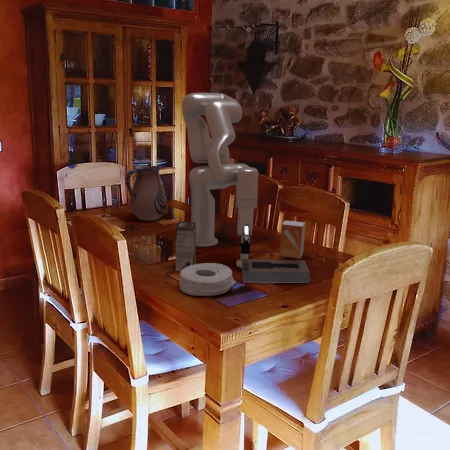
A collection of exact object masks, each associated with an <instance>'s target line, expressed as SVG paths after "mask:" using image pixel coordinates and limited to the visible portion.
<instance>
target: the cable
mask: <svg viewBox="0 0 450 450" xmlns="http://www.w3.org/2000/svg"><path fill="white" fill-rule="evenodd" d="M179 274H180V275H179V289H180V290H181V291H182V292H183V293H185V294H187V295H190V296H198V297H199V296H200V297H211V296H213V297H214V296H218V295H223V294H226V293H228V291H230V289H231V288H232V287H234V286H235V285H236V283H237V280H235V279H234V277H233V271H232V269H231V268H230V267H229V266H227V265H225V264H221V263H216V262H215V263H213V262H212V263H210V262H209V263H208V262H207V263H206V262H205V263H195V265H192V266H189V267H186V268H184V269H183V270H182V271H181V272H179Z"/></svg>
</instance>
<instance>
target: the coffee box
mask: <svg viewBox="0 0 450 450" xmlns="http://www.w3.org/2000/svg"><path fill="white" fill-rule="evenodd" d="M195 231H196V222H191V221H187V220H185V221H184V220H183V221H181V220H180V221H178V222H177V224H176V227H175V272H176V271H180V272H179V273H181V271H182V270H183V269H184V268H186V267H189V266H192V265H196V246H195V233H196V232H195Z"/></svg>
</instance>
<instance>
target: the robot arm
mask: <svg viewBox="0 0 450 450" xmlns="http://www.w3.org/2000/svg"><path fill="white" fill-rule="evenodd" d="M181 113H182V114H181V115H182V118H183V121H184V123H185V126H186V130H187V140H188V148H189V155H190V159H191V160H192V162H194V163H197V164H203V163H204V164H206V163H208V165H203V166H196V167H194V168H193V169H191V170H190V172H189V175H188V180H189V181H188V183H189V187H190V201H191V203H190V204H191V205H190V207H191V209H190V210H191V211H190V212H191V213H190V220H191V221H190V222H196V231H195V232H196V233H195V247H198V248H199V247H200V248H205V247H212V246H216V245H217V244H218V242H219V239H218V238H216V237H215V214H216V213H215V212H216V203H215V202H216V200H215V198H214V196H213V194H212V193H211V190H220V189H227V188H228V187H229V186H235V208H238V210H237V228H236V229H237V236H239V246H240V255H241V254H248V255H250V254H251V236H252V235H253V227H254V226H253V225H254V209H257V208H258V190H259V187H258V186H259V171H258V169H257V168H255V167H250V166H249V165H247V164H245V163H231V158H230V150H229V147H228V146H229V145H231V144H232V143H234V141H235V139H236V137H237V136H236V132H235V129H234V127H233V124H234V123H235V124H236V123H239V122H240V121H241V120H242V117H243V109H242V106H241V105H240V103H239V102H238V101H237V100H236V99H234V98H232V97H231V96H229V95H227V94H225V93H220V92H192V93H188V94H187V95H185V96H184V97H183V99H182V102H181ZM202 116H204V117H205V119H206V121H205V119H204V118H203V117H202ZM210 135H211V137H210ZM243 233H245V234H243ZM248 233H249V234H248ZM241 235H242V243H241ZM243 237H244V238H243Z"/></svg>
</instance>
